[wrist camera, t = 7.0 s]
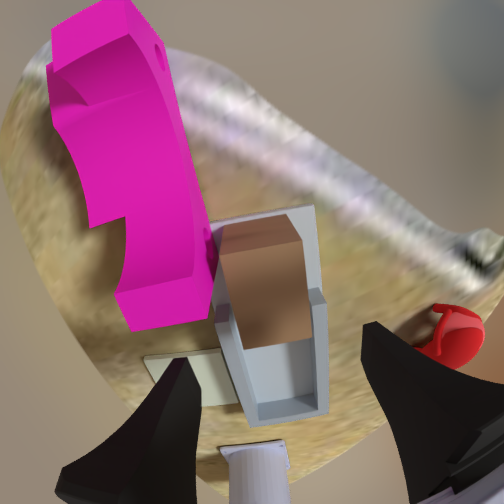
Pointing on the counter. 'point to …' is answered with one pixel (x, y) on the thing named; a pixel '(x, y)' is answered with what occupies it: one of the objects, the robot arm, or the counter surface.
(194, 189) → the magenta cradle bracket
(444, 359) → the red rounded piece
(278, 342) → the walnut block
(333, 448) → the counter surface
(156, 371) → the sage coaster
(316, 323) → the trough deck
